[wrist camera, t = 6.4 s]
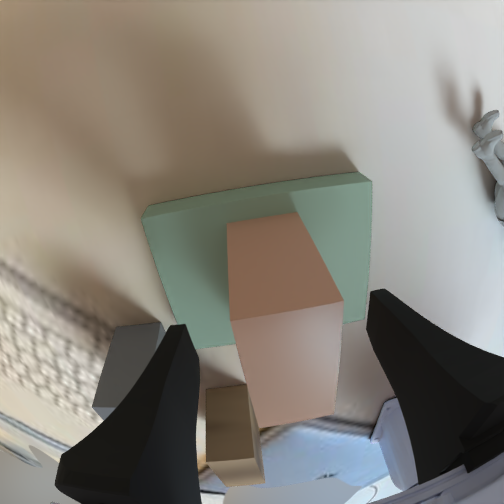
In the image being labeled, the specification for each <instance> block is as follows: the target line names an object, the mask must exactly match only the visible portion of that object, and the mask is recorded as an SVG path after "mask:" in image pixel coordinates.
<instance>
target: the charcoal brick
mask: <svg viewBox="0 0 504 504" xmlns="http://www.w3.org/2000/svg"><path fill="white" fill-rule="evenodd" d="M165 334H166V332H165V330H164V328H163V325H162V323H161V322H156V323H148V324H139V325H130V326H121V327H116V330H115V332H114V335H113V338H112V341H111V344H110V348H109V351H108V354H107V357H106V360H105V363H104V367H103V370H102V373H101V376H100V380H99V383H98V387H97V390H96V394H95V397H94V401H93V405H92V408H93V409H94V410H95V411H96V412H97V413H98V415H99V416H100V417H101V418H102V419H103V420H105V419H106V418H107V417H108V416H109V415H110V414H111V413H112V412H113V411H114V409H115V408H116V407H117V406H118V405H119V404H120V403H121V401H122V400H123V399H124V398H125V396H126V395H127V394H128V393H129V391H130V390H131V389H132V387H133V386H134V384H135V383H136V381H137V380H138V378H139V377H140V375H141V374H142V373H143V371H144V370H145V368H146V366H147V365H148V363H149V361H150V360H151V358H152V356H153V355H154V353H155V351H156V350H157V348H158V346H159V344H160V343H161V341H162V339H163V337H164V335H165Z"/></svg>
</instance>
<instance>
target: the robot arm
mask: <svg viewBox="0 0 504 504" xmlns="http://www.w3.org/2000/svg"><path fill="white" fill-rule="evenodd" d="M366 330H367V333H368V336H369V339H370V342H371V344H372V347H373V350H374V352H375V354H376V356H377V358H378V360H379V362H380V364H381V366H382V368H383V370H384V372H385V374H386V376H387V378H388V380H389V382H390V384H391V386H392V388H393V390H394V392H395V395H396V397H397V398H395V399H392V400H389V401H387V402H385V403H384V405H383V408H382V411H381V413H380V416H379V419H378V421H377V424H376V427H375V429H374V432H373V434H372V437H371V439H370V443H371V444H374V443H377V442H379V444H380V447H381V450H382V453H383V456H384V459H385V462H386V464H387V467H388V470H389V473H390V476H391V479H392V481H393V483H394V485H395V486H396V487H397V488H399V489H400V490H402V491H403V492H400V493H398V494H395V495H392V496H389V497H387V498H384V499H381V500H378V501H374V502H371V503H368V504H504V357H501V356H498V355H495V354H492V353H489V352H487V351H484V350H482V349H479V348H477V347H475V346H472V345H470V344H468V343H466V342H464V341H462V340H460V339H458V338H456V337H455V336H453V335H451V334H449V333H447V332H446V331H444V330H442V329H441V328H439V327H438V326H436V325H435V324H433V323H431V322H430V321H428V320H427V319H426V318H424V317H423V316H421V315H420V314H418V313H417V312H416V311H414V310H413V309H412V308H410V307H409V306H407V305H406V304H405V303H403V302H402V301H401V300H399V299H398V298H397V297H395V296H394V295H393V294H391V293H390V292H389V291H387V290H386V289H380V290H375V291H371V292H370V301H369V310H368V318H367V326H366ZM199 386H200V370H199V357H198V355H197V352H196V350H195V347H194V345H193V342H192V340H191V337H190V334H189V332H188V329H187V327H186V324H179V325H171V326H170V327H169V328H168V330H167V332H166V334H165V335H164V337H163V339H162V341H161V343H160V344H159V346H158V348H157V350H156V351H155V353H154V355H153V356H152V358H151V360H150V361H149V363H148V365H147V366H146V368H145V370H144V371H143V373H142V374H141V375H140V377H139V378H138V380H137V381H136V383H135V384H134V386H133V387H132V389H131V390H130V391H129V393H128V394H127V395H126V396H125V398H124V399H123V400H122V401H121V403H120V404H119V405H118V406H117V407H116V408H115V409H114V411H113V412H112V413H111V414H110V415H109V416H108V417H107V418H106V419H105V420H104V421H103V422H102V423H101V424H100V425H99V426H98V427H97V428H96V429H95V430H93V431H92V432H91V433H90V434H89V435H88V436H86V437H85V438H84V439H83V440H81V441H80V442H79V443H77V444H76V445H75V446H73V447H72V448H71V449H69V450H68V451H66V452H65V453H63V454H62V455H61V458H60V462H59V466H58V470H57V475H56V480H55V486H56V488H57V489H58V490H59V491H61V492H62V493H64V494H65V495H67V496H69V497H71V498H72V499H74V500H76V501H78V502H80V503H81V504H202V502H201V495H200V487H199V478H198V467H197V452H196V423H197V411H198V399H199ZM50 504H58V503H55V502H51V503H50Z"/></svg>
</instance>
